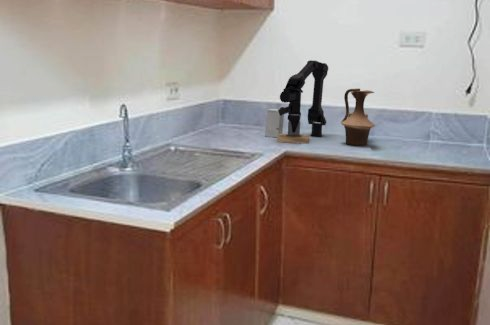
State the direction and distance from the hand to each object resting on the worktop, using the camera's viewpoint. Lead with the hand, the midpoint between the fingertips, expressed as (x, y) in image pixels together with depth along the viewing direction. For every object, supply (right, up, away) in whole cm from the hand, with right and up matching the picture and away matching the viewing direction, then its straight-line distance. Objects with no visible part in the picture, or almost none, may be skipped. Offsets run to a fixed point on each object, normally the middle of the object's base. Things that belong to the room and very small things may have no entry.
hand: (293, 131), depth 260 cm
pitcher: (+31, -7, -6) cm, 32 cm away
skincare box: (-9, -2, +14) cm, 17 cm away
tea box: (+34, -4, +6) cm, 34 cm away
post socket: (0, -4, +1) cm, 5 cm away
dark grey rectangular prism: (0, -2, 0) cm, 2 cm away
